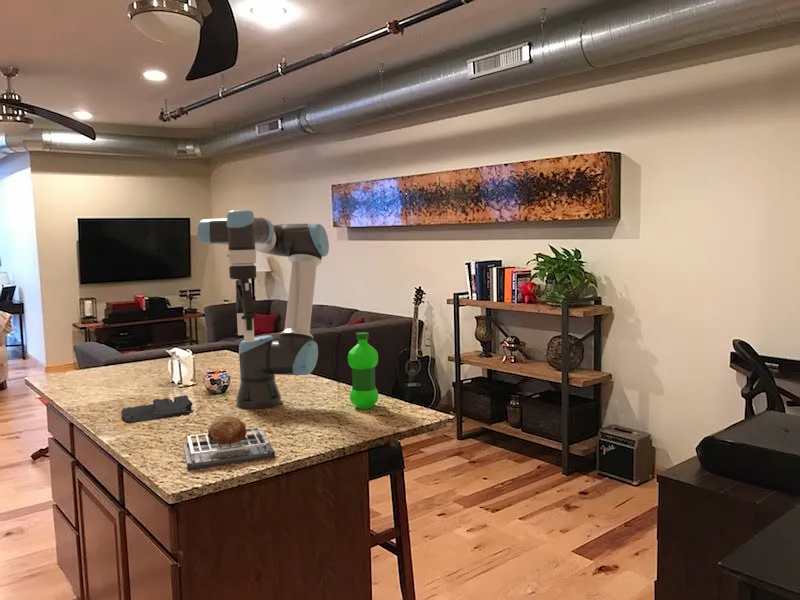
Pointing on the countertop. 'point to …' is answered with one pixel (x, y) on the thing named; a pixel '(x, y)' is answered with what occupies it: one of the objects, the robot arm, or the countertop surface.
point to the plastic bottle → (363, 372)
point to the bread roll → (226, 430)
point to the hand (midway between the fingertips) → (246, 338)
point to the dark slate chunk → (158, 410)
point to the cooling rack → (227, 450)
